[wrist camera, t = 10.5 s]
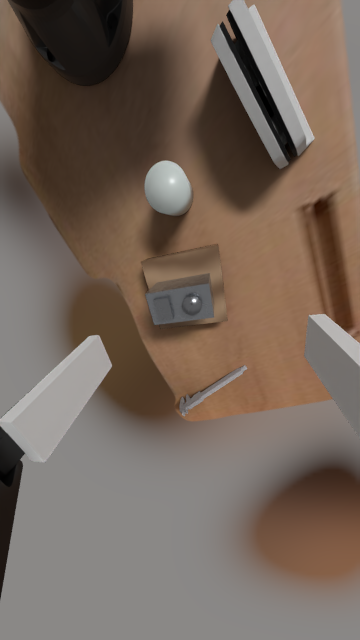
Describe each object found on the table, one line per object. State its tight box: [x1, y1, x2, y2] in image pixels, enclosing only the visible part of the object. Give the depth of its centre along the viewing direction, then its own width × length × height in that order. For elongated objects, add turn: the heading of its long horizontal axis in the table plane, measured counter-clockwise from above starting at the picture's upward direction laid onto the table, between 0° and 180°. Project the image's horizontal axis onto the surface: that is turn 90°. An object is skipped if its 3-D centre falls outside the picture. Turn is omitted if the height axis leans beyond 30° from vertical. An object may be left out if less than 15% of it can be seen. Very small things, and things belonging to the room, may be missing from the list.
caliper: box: [179, 365, 247, 416], centre depth 48 cm, size 20×1×6 cm, turn 131°
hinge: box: [211, 0, 315, 169], centre depth 24 cm, size 17×5×10 cm, turn 39°
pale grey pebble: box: [145, 161, 193, 216], centre depth 30 cm, size 6×6×8 cm
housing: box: [145, 273, 214, 325], centre depth 33 cm, size 10×6×8 cm, turn 102°
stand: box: [141, 244, 228, 329], centre depth 38 cm, size 14×14×4 cm
